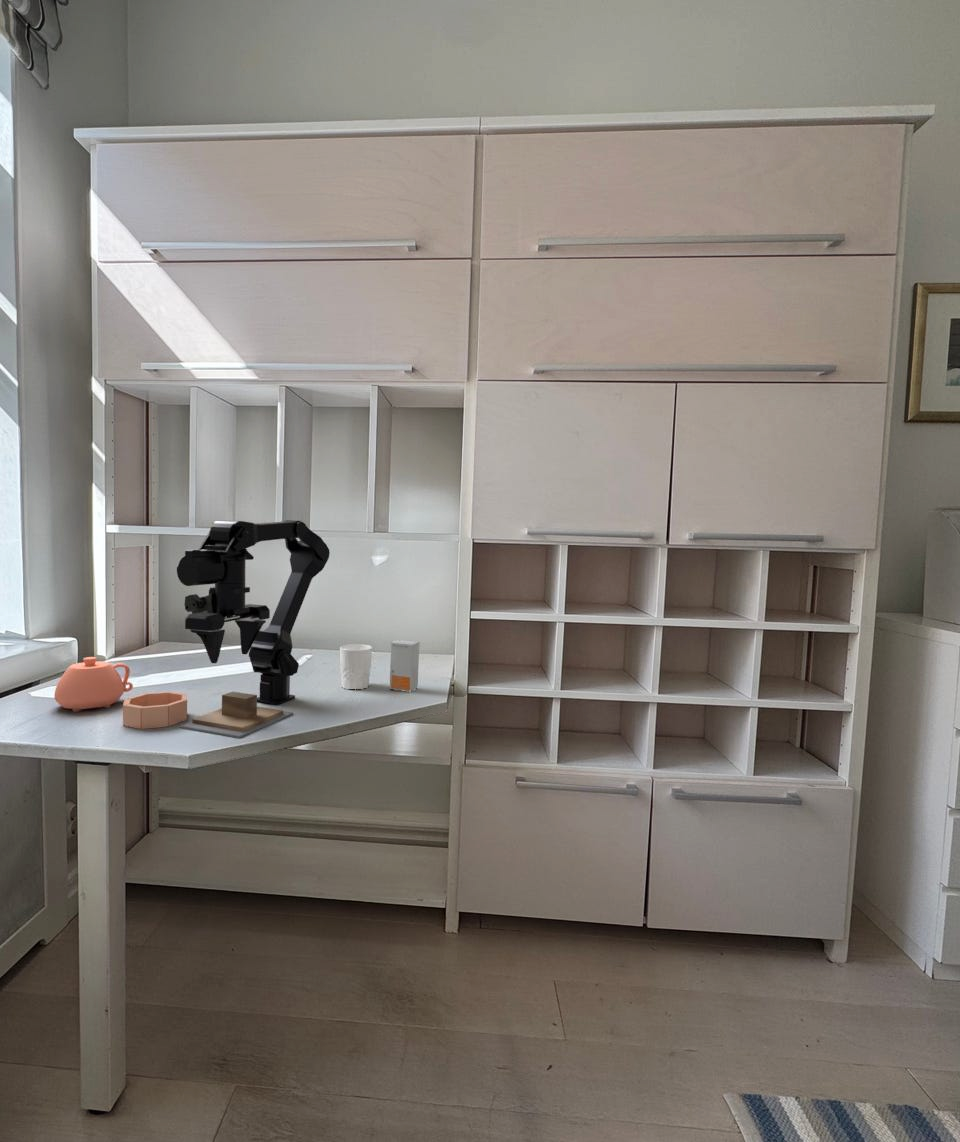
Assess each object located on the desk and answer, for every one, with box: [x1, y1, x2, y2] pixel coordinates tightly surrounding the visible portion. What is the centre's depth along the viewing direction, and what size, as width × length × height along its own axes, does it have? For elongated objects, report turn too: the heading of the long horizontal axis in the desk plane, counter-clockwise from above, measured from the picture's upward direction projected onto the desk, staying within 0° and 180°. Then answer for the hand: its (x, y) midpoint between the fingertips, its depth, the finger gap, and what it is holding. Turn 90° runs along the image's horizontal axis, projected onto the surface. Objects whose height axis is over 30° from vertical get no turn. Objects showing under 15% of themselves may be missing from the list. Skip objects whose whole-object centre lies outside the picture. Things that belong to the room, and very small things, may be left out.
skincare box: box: [389, 639, 420, 692], centre depth 146 cm, size 6×4×12 cm
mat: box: [179, 710, 294, 739], centre depth 118 cm, size 16×14×1 cm
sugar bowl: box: [53, 656, 134, 712], centre depth 125 cm, size 12×14×10 cm
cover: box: [191, 691, 284, 732], centre depth 118 cm, size 12×12×5 cm
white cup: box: [339, 643, 373, 691], centre depth 147 cm, size 8×8×10 cm
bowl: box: [122, 690, 188, 730], centre depth 117 cm, size 11×11×4 cm
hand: (229, 658), depth 120 cm, fingers open, 9 cm apart
